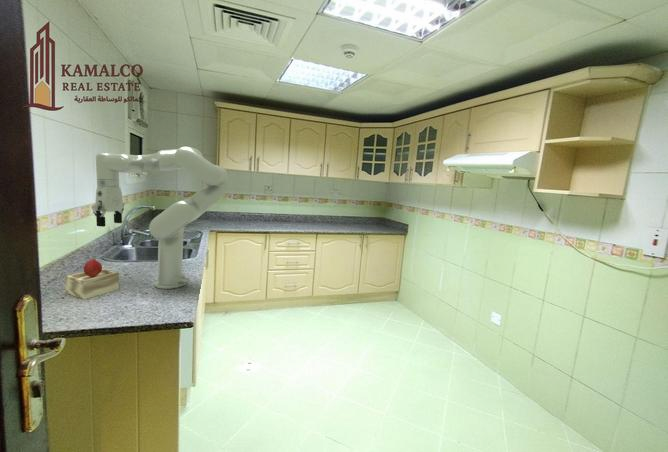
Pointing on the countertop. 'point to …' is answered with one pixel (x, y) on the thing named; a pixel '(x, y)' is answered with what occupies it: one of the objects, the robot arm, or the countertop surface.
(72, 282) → the birch box
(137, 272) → the countertop surface
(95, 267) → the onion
